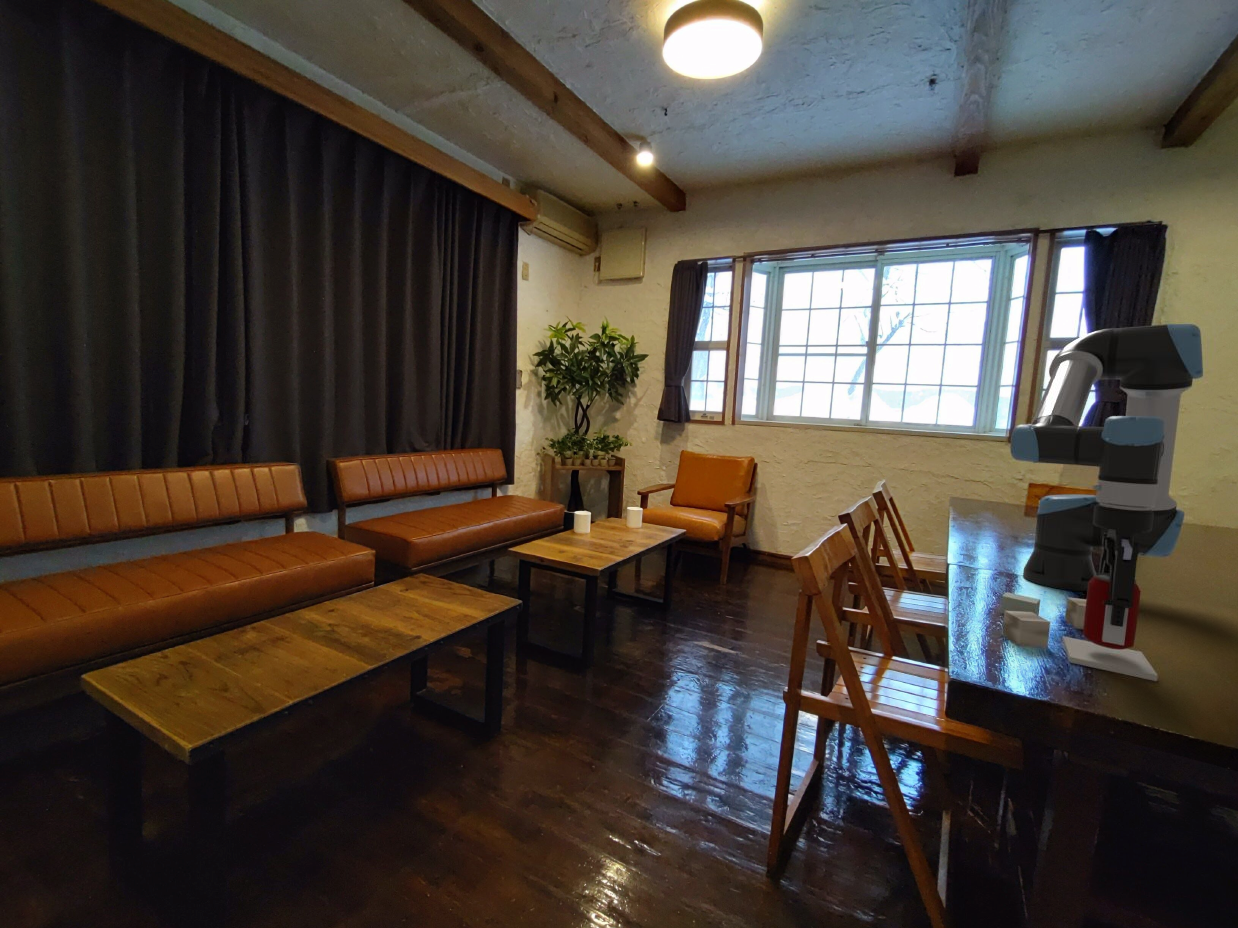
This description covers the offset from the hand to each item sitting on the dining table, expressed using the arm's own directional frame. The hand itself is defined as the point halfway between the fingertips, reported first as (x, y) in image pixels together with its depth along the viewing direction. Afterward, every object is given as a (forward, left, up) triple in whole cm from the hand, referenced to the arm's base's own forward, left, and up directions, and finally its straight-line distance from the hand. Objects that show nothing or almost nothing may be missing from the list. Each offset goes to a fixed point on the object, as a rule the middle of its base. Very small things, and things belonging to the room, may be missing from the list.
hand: (1108, 635), depth 95 cm
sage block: (-18, -12, -5) cm, 22 cm away
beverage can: (0, 0, -2) cm, 2 cm away
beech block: (-19, -1, -5) cm, 19 cm away
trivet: (0, 0, -4) cm, 4 cm away
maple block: (-1, -12, -5) cm, 12 cm away
